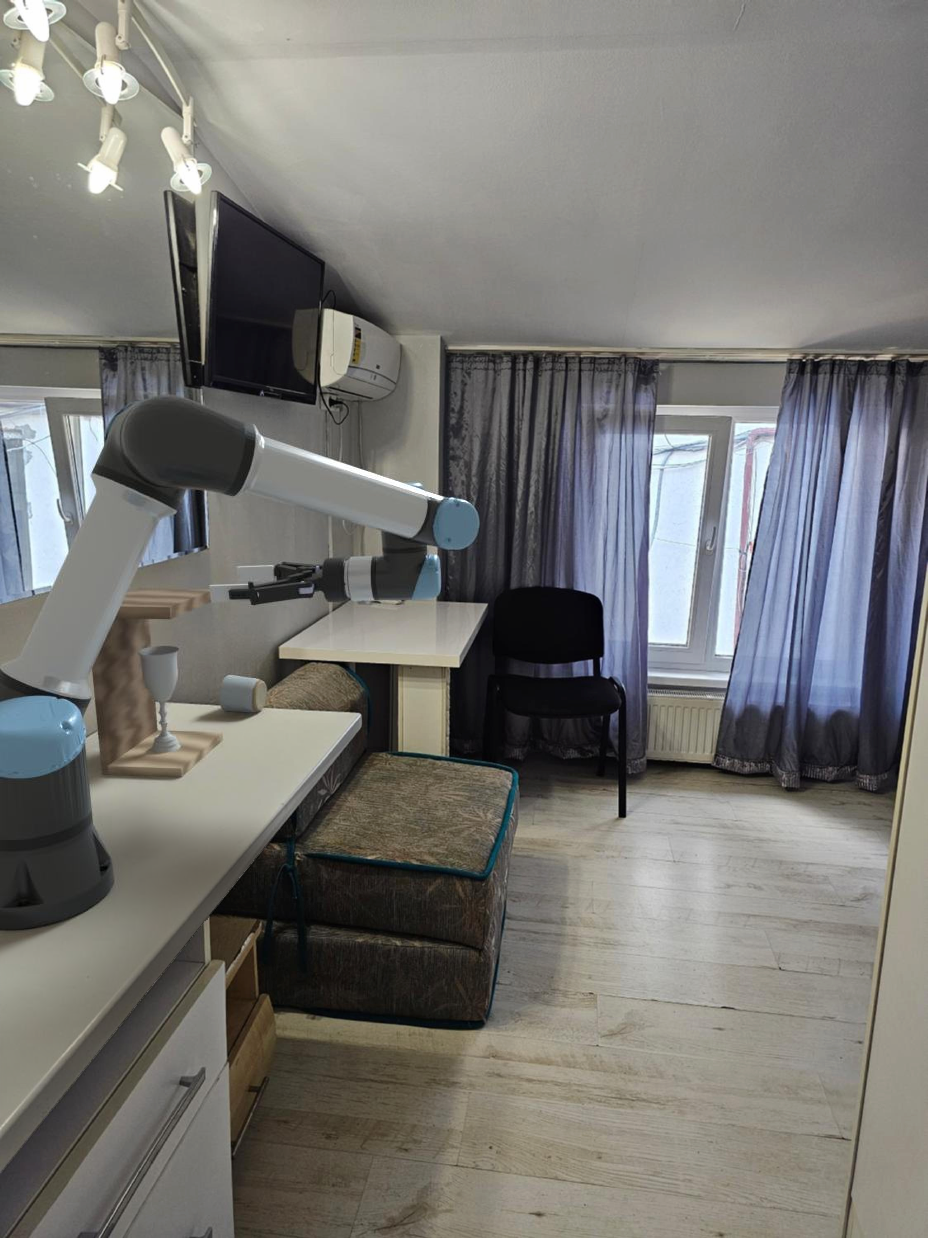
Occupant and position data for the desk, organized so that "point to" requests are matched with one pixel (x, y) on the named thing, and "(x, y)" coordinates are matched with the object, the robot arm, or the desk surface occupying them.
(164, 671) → the chalice
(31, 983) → the desk surface
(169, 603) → the walnut shelf
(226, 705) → the ceramic mug
